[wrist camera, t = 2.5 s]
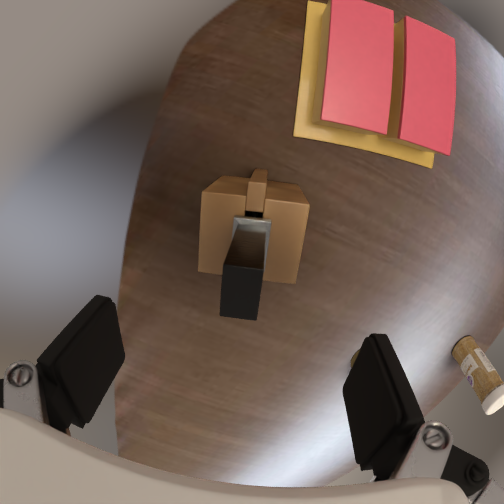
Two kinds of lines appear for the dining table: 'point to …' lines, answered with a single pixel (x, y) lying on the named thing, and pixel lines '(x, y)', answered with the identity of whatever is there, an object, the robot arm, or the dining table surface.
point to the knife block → (241, 203)
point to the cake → (376, 82)
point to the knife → (245, 267)
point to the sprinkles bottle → (480, 374)
